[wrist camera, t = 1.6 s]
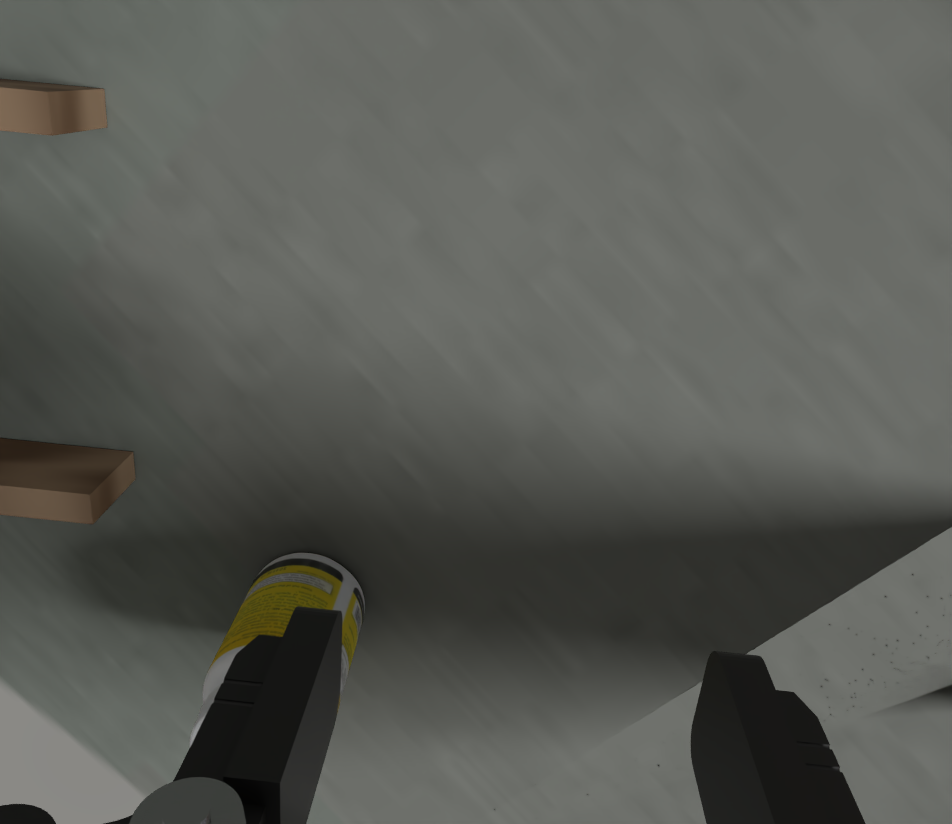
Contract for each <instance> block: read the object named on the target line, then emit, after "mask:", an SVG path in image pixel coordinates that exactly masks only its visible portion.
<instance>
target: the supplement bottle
mask: <svg viewBox="0 0 952 824" xmlns="http://www.w3.org/2000/svg"><path fill="white" fill-rule="evenodd" d="M297 606H300V607H309V608H319V609H328V610H338V611H341V612H342V619H343V620H342V657H341V687H340V698H339V705H340V701H341V697H342V694H343V690H344V687H345V683H346V679H347V676H348V672H349V669H350V665H351V662H352V658H353V655H354V651H355V647H356V644H357V640H358V637H359V633H360V629H361V626H362V623H363V619H364V614H365V600H364V595H363V592H362V589H361V587H360V585H359V583H358V582H357V580H356V579H355V578H354V577H353V575H352V574H351V573H350V572H349V571H348V570H346V569H345V568H344V567H343V566H341V565H340V564H338V563H337V562H335V561H333V560H331V559H329V558H327V557H325V556H322V555H318V554H312V553H293V554H288V555H285V556H282V557H279V558H277V559H275V560H273V561H272V562H270V563H269V564H268V565H267V566H265V567H264V568H263V569H262V570H261V572H260V573H259V574H258V575H257V577H256V578H255V580H254V581H253V583H252V585H251V587H250V589H249V591H248V593H247V595H246V598H245V600H244V602H243V604H242V605H241V607H240V609H239V611H238V613H237V615H236V617H235V619H234V621H233V623H232V625H231V627H230V629H229V631H228V633H227V635H226V637H225V638H224V641H223V643H222V645H221V647H220V649H219V650H218V652H217V654H216V656H215V658H214V660H213V662H212V664H211V666H210V668H209V670H208V672H207V675H206V678H205V681H204V685H203V705H202V707H201V709H200V712H199V715H198V717H197V720H196V722H195V724H194V727H193V729H192V732H191V736H190V747H191V745H192V743H193V741H194V738H195V736H196V734H197V732H198V730H199V728H200V726H201V724H202V722H203V720H204V718H205V716H206V714H207V712H208V710H209V708H210V706H211V704H212V703H214V698H215V696H216V694H217V692H218V690H219V688H220V686H221V684H222V683H223V682H224V677H225V675H226V673H227V671H228V669H229V667H230V665H231V663H232V661H233V659H234V657H235V655H236V654H237V653H238V652H239V651H240V650H241V649H243V648H244V647H245V646H246V645H247V644H248V643H250V642H251V641H252V640H253V639H254V638H255V637H257V636H258V635H259V634H260V635H269V636H279V637H283V635H284V632H285V630H286V627H287V625H288V623H289V620H290V618H291V616H292V613H293V611H294V609H295V608H296V607H297ZM339 705H338V708H339ZM337 712H338V711H337Z"/></svg>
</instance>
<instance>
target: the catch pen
mask: <svg viewBox="0 0 952 824" xmlns="http://www.w3.org/2000/svg"><path fill="white" fill-rule="evenodd" d="M100 128H107V117H106V105H105V92H104V89H100V88H90V87H79V86H69V85H59V84H49V83H38V82H28V81H18V80H7V79H0V130H1V131H11V132H22V133H32V134H42V135H59V134H66V133H73V132H80V131H86V130H93V129H100ZM134 480H135V467H134V455H133V452H130V451H120V450H110V449H101V448H91V447H81V446H72V445H62V444H53V443H43V442H33V441H24V440H14V439H4V438H0V515H8V516H18V517H27V518H37V519H46V520H56V521H65V522H75V523H84V524H94V523H95V522H96V521H97V520H98V518H99V517H100V516H101V515H102V514H103V513H104V512H105V511H106V510H107V509H108V508H109V507H110V506H111V505H112V504H113V503H114V501H115V500H116V499H117V498H118V497H119V496H120V495H121V494H122V493H123V492H124V491H125V490H126V489H127V488H128V487H129V486H130V484H131V483H132V482H133V481H134Z"/></svg>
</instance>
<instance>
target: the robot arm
mask: <svg viewBox="0 0 952 824" xmlns="http://www.w3.org/2000/svg"><path fill="white" fill-rule="evenodd" d="M342 620H343V619H342V612H341V611H338V610H328V609H319V608H309V607H300V606H297V607H296V608H295V609H294V611H293V613H292V616H291V618H290V620H289V623H288V625H287V627H286V630H285V632H284V635H283V637H279V636H269V635H260V634H259V635H258V636H257V637H255V638H254V639H253V640H252V641H251V642H250V643H248V644H247V645H246V646H245V647H244V648H243V649H241V650H240V651H239V652H238V653H237V654H236V655H235V657H234V659H233V661H232V663H231V665H230V667H229V669H228V671H227V673H226V675H225V677H224V682H223V683H222V684H221V686H220V688H219V690H218V692H217V694H216V696H215V698H214V703H212V704H211V706H210V708H209V710H208V712H207V714H206V716H205V718H204V720H203V722H202V724H201V726H200V728H199V730H198V732H197V734H196V736H195V738H194V741H193V743H192V745H191V747H190V749H189V751H188V753H187V755H186V757H185V759H184V761H183V763H182V765H181V767H180V769H179V771H178V773H177V775H176V777H175V779H174V780H173V782H171V783H169V784H166V785H164V786H162V787H161V788H159V789H157V790H155V791H154V792H153V793H151V794H150V795H149V796H148V797H146V798H145V799H144V801H142V802H141V803H140V805H139V806H138V807H137V809H136V810H135V812H134V814H133V815H131V816H129V817H127V818H124V819H121V820H118V821H114V822H110V823H106V824H306V822H307V819H308V815H309V812H310V808H311V805H312V801H313V798H314V794H315V791H316V787H317V784H318V781H319V777H320V774H321V770H322V767H323V763H324V760H325V756H326V753H327V749H328V746H329V742H330V739H331V735H332V732H333V729H334V725H335V721H336V716H337V711H338V705H339V698H340V687H341V657H342ZM829 745H830V744H829V742H828V740H827V737H826V735H825V733H824V731H823V729H822V726H821V724H820V722H819V720H818V717H817V716H816V715H815V714H814V713H813V712H812V711H811V710H810V709H809V708H808V707H807V706H806V705H805V704H804V703H803V701H802V700H801V699H800V698H799V697H798V696H797V695H796V694H795V693H794V692H788V691H779V690H775V687H774V685H773V682H772V680H771V677H770V675H769V672H768V670H767V667H766V665H765V663H764V660H763V659H762V658H761V657H760V656H756V655H746V654H737V653H727V652H718V651H713V652H712V653H711V654H710V656H709V659H708V662H707V666H706V670H705V674H704V678H703V682H702V686H701V691H700V695H699V699H698V703H697V707H696V711H695V715H694V719H693V724H692V730H691V758H692V764H693V769H694V773H695V777H696V781H697V786H698V790H699V794H700V798H701V802H702V806H703V810H704V815H705V819H706V823H707V824H865V822H864V819H863V817H862V815H861V813H860V811H859V808H858V806H857V804H856V802H855V799H854V797H853V795H852V793H851V791H850V788H849V786H848V784H847V782H846V780H845V777H844V775H843V773H842V772H840V770H839V768H840V766H839V764H838V762H837V760H836V757H835V755H834V753H833V751H832V750H830V748H829ZM0 824H56V823H55V821H54V819H53V818H52V817H51V816H50V815H49V814H48V813H47V812H46V811H44V810H42V809H41V808H38V807H35V806H32V805H25V804H10V805H3V806H0Z"/></svg>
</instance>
